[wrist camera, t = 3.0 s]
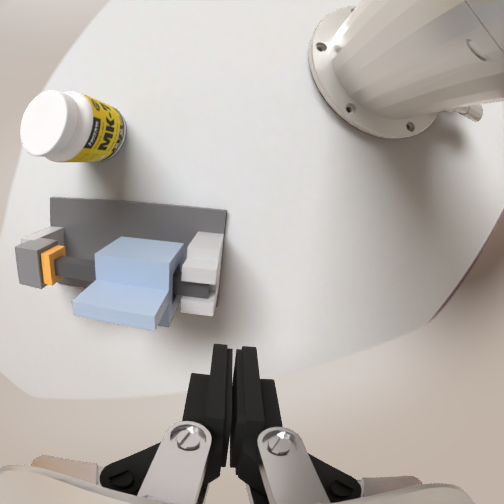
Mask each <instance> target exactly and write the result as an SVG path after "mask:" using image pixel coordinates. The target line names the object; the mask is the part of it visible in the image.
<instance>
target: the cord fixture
mask: <svg viewBox="0 0 504 504" xmlns="http://www.w3.org/2000/svg"><path fill="white" fill-rule="evenodd" d="M226 211H227V210H220V209H211V208H201V207H190V206H180V205H168V204H157V203H144V202H131V201H116V200H101V199H83V198H62V197H51V198H50V223H51V226H50V227H48V228H45V229H42V230H40V231H38V232H35V233H33V234H30V235H28V236H25V237H23V238H21V244H20V245H18V246H16V247H15V253H16V262H17V269H18V276H19V283H20V284H23V285H27V286H31V287H35V288H39V289H42V288H44V287H45V286H46V285H54V284H55V283H56V282H59V283H64V284H69V285H74V286H79V287H84V288H87V287H88V286H89V285H91V284H92V283H93V282H94V281H95V280H96V273H95V253H96V252H98V251H99V250H101V249H103V248H104V247H106V246H107V245H109V244H110V243H112V242H113V241H115V240H117V239H118V238H120V237H121V236H122V237H131V238H140V239H150V240H159V241H168V242H177V243H184V252H183V265H182V272H178V271H174V273H173V289H172V294H175V295H182V297H181V300H180V303H181V310H180V312H181V313H189V314H197V315H206V316H213V314H214V312H215V307H217V304H218V293H219V281H220V270H221V260H222V249H223V239H224V230H225V220H226Z"/></svg>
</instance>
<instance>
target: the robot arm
mask: <svg viewBox="0 0 504 504" xmlns="http://www.w3.org/2000/svg"><path fill="white" fill-rule="evenodd" d="M318 49H320V50H321V51H319V50H318ZM309 64H310V68H311V72H312V75H313V78H314V80H315V83H316V85H317V87H318V89H319V91H320V92H321V94H322V95H323V97H324V98H325V100H326V101H327V103H328V104H329V105H330V106H331V107H332V108H333V109H334V110H335V111H336V112H337V114H338V115H340V116H341V117H342V118H343V119H345V120H346V121H347V122H348V123H350V124H351V125H353V126H354V127H356V128H358V129H360V130H361V131H363V132H366V133H368V134H371V135H374V136H376V137H382V138H388V139H396V138H405V137H411V136H414V135H416V134H419V133H421V132H422V131H424V130H425V129H426V128H428V127H429V126H430V125H431V123H432V122H433V121H434V120H435V118H436V116H437V114H438V112H439V111H444V110H446V111H448V112H454V111H457V112H459V113H460V114H461V115H463V116H465V117H467V118H469V119H470V120H472V121H474V122H477V121H479V120H480V119H481V117H482V115H483V109H482V106H481V105H480V104H485V103H492V102H499V101H504V0H362V1H361V2H360V3H359V4H358V5H357V6H348V7H344V8H340V9H337V10H335V11H333V12H331V13H330V14H328V15H327V16H326V17H325V18H324V19H322V20H321V21H320V23H319V24H318V26H317V27H316V29H315V31H314V33H313V35H312V38H311V40H310V46H309ZM346 107H347V108H349V110H350V112H349V113H348V112H347V110H346ZM406 126H407V127H406ZM229 437H230V467H233V468H234V467H235V468H236V475H238V477H239V478H240V479H241V480H243V481H244V482H245V483H246V488H247V492H248V496H249V500H250V504H475V503H474V502H473V500H472V499H471V498H470V497H469V495H468V494H467V493H466V492H465V491H464V490H462V489H461V488H460V487H458V486H455V485H451V484H440V483H433V484H422V482H421V481H420V480H418V478H416V477H413V476H399V477H380V478H362V480H356V479H354V478H353V477H351V476H349V475H347V474H345V473H343V472H341V471H340V470H338V469H336V468H334V467H332V466H330V465H328V464H326V463H324V462H323V461H321V460H319V459H317V458H315V457H314V456H312V455H310V454H308V453H307V450H306V448H305V446H304V444H303V441H302V439H301V438H300V437H299V435H298V434H297V433H295V432H294V431H292V430H290V429H288V428H284V427H282V421H281V416H280V410H279V404H278V399H277V393H276V388H275V382H274V380H272V379H260V377H259V368H258V359H257V350H256V347H245V346H242V350H239V349H237V350H236V358H235V367H234V375H233V383H232V349H227V345H222V344H214V346H213V355H212V363H211V372H210V375H205V374H196V373H192V374H191V378H190V383H189V388H188V393H187V398H186V404H185V409H184V414H183V420H182V421H181V422H178V423H175V424H173V425H171V426H170V427H169V428H168V429H167V431H166V432H165V435H164V437H163V439H162V441H161V442H160V443H158V444H156V445H154V446H152V447H149V448H147V449H145V450H143V451H140V452H138V453H136V454H133V455H131V456H129V457H126V458H124V459H121V460H119V461H116V462H114V463H111V464H109V465H108V466H106V467H102V466H98V465H97V464H96V463H88V462H81V461H75V460H69V459H63V458H58V457H53V456H46V455H42V456H39V457H37V458H36V459H34V460H33V462H32V464H31V466H26V465H8V466H3V467H1V468H0V504H204V503H205V500H206V496H207V492H208V488H209V483H210V482H211V481H213V480H215V479H216V478H218V477H219V476H220V469H221V467H225V466H226V459H227V452H228V444H229Z"/></svg>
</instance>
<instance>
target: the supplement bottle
mask: <svg viewBox="0 0 504 504" xmlns="http://www.w3.org/2000/svg"><path fill="white" fill-rule="evenodd" d="M125 134H126V125H125V121H124V118H123V116H122V114H121V113H120V112H119V111H118V110H117V109H115V108H113V107H111V106H109V105H107V104H105V103H102V102H100V101H98V100H95V99H93V98H91V97H88V96H86V95H84V94H81V93H78V92H73V91H70V92H59V91H55V90H49V91H45V92H43V93H41V94H39V95H38V96H37V97H35V98H34V99H33V100H32V102H31V103H30V104H29V105H28V107H27V109H26V111H25V113H24V116H23V119H22V123H21V129H20V135H21V141H22V144H23V147H24V148H25V150H26V151H27V152H28V153H29V154H31V155H34V156H45V157H46V158H47V159H49V160H51V161H54V162H102V161H105V160H107V159H109V158H111V157H112V156H114V155H115V154H116V153H117V152H118V150H119V149H120V148H121V146H122V144H123V142H124V139H125Z"/></svg>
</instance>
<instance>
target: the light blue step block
mask: <svg viewBox="0 0 504 504" xmlns="http://www.w3.org/2000/svg"><path fill="white" fill-rule="evenodd" d="M183 252H184V243H177V242H168V241H159V240H150V239H140V238H131V237H122V236H121V237H120V238H118V239H117V240H115V241H113V242H112V243H110V244H109V245H107V246H106V247H104V248H103V249H101V250H99V251H98V252H96V253H95V273H96V280H95V281H94V282H93V283H92V284H91V285H89V286H88V287H87V288H86V289H85V290H84V291H83V292H81V293H80V294H79V295H78V296H77V297H76V298H75V299H74V300H73V301H72V307H73V313H74V315H76V316H80V317H84V318H89V319H93V320H98V321H103V322H108V323H113V324H118V325H123V326H129V327H134V328H140V329H146V330H152V331H155V330H156V328H157V326H163V327H169V325H170V323H171V321H172V318H173V316H174V314H175V311H176V309H177V307H178V304H179V302H180V300H181V297H182V295H175V294H172V289H173V273H174V271H178V272H182V265H183Z"/></svg>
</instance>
